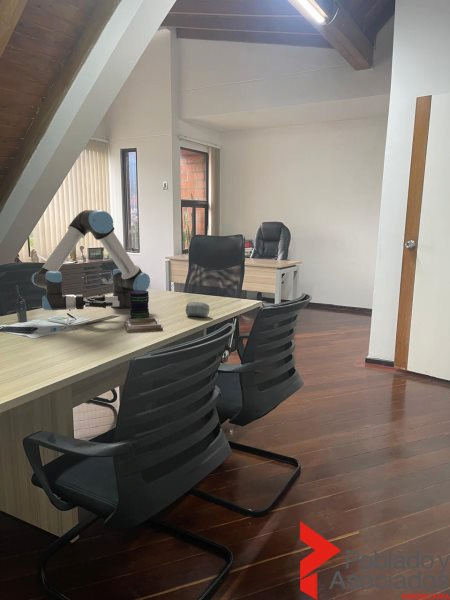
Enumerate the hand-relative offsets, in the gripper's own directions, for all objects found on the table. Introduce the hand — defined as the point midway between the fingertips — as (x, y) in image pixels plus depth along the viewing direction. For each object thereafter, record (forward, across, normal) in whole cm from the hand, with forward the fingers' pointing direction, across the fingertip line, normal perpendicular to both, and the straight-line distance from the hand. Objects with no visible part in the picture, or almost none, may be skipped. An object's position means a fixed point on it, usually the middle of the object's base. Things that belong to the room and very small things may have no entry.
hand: (118, 301), depth 224 cm
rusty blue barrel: (+11, 0, -10) cm, 15 cm away
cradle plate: (+11, +17, -10) cm, 23 cm away
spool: (+43, -1, -10) cm, 44 cm away
